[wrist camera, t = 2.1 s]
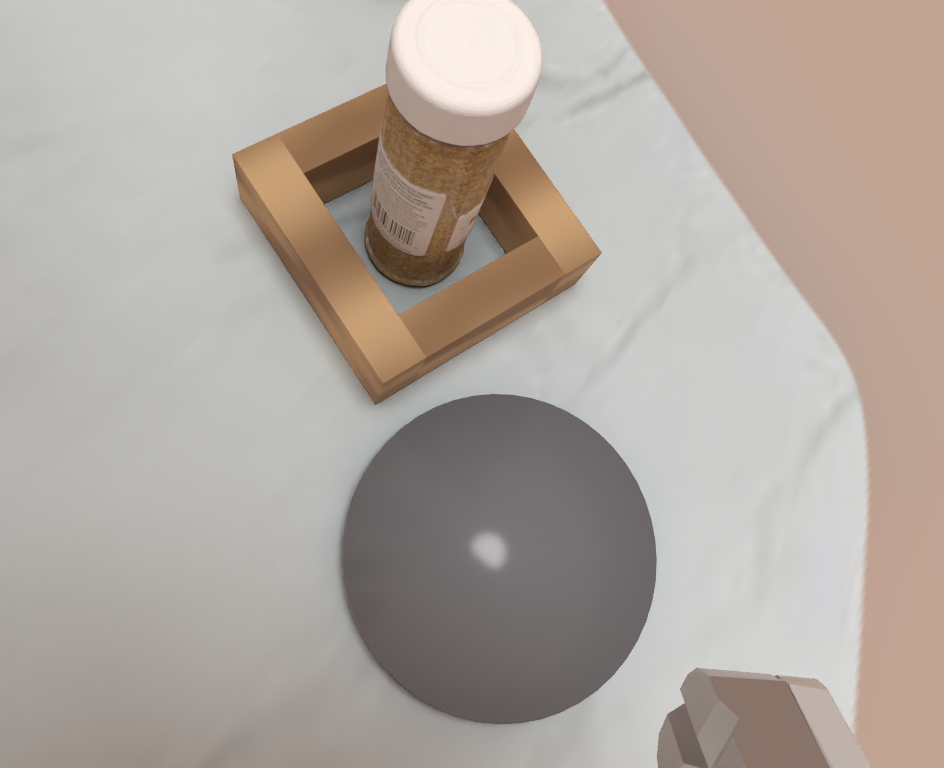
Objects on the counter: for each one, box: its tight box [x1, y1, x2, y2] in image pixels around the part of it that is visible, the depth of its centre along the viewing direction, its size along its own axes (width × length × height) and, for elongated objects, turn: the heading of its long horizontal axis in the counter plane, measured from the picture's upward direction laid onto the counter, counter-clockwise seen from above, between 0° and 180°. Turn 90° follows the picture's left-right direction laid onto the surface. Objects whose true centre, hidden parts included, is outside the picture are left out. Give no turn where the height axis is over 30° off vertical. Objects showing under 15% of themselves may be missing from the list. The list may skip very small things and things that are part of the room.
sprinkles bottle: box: [365, 0, 543, 286], centre depth 28 cm, size 5×5×13 cm
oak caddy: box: [232, 84, 602, 404], centre depth 33 cm, size 11×11×4 cm
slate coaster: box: [342, 394, 657, 724], centre depth 32 cm, size 13×13×1 cm
